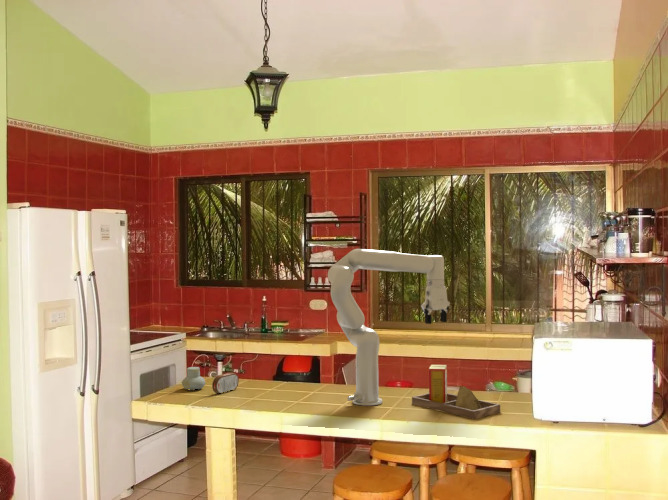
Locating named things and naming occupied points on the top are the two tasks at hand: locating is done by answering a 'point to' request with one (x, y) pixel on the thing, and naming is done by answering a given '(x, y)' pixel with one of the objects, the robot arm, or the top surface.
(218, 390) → the tin
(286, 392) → the top surface
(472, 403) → the rock
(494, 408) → the divided brown tray
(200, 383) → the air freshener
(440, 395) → the baking soda box
